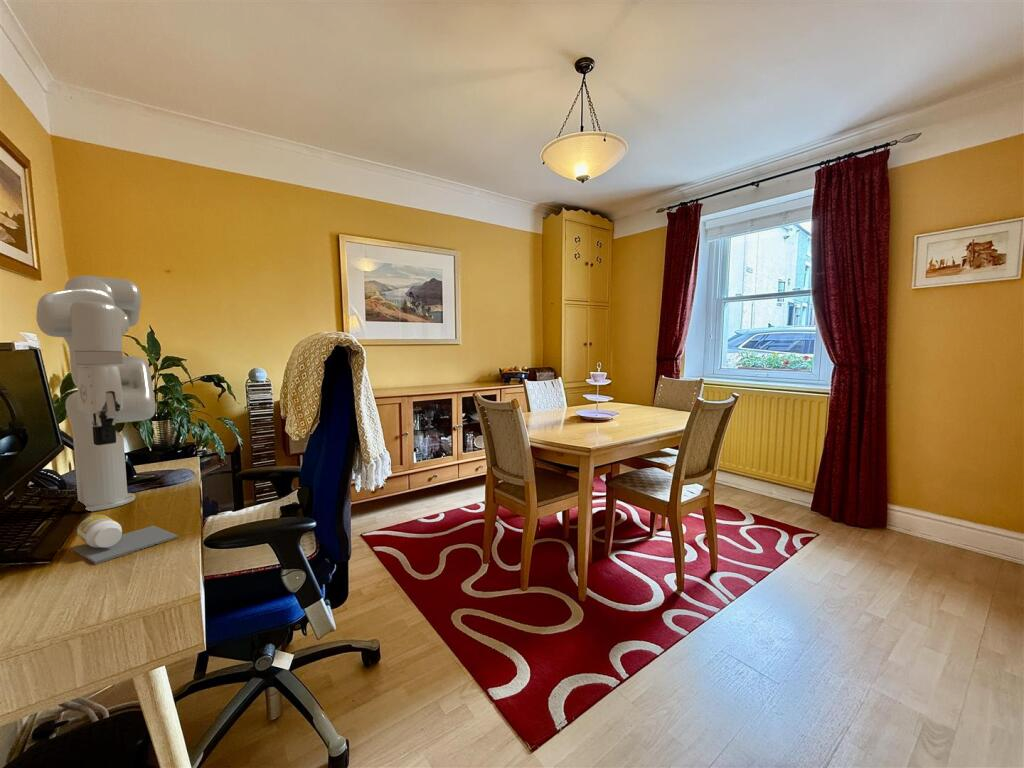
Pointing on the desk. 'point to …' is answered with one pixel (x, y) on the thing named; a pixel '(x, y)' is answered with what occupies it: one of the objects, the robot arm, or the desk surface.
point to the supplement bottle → (99, 531)
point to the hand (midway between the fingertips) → (105, 443)
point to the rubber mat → (126, 544)
